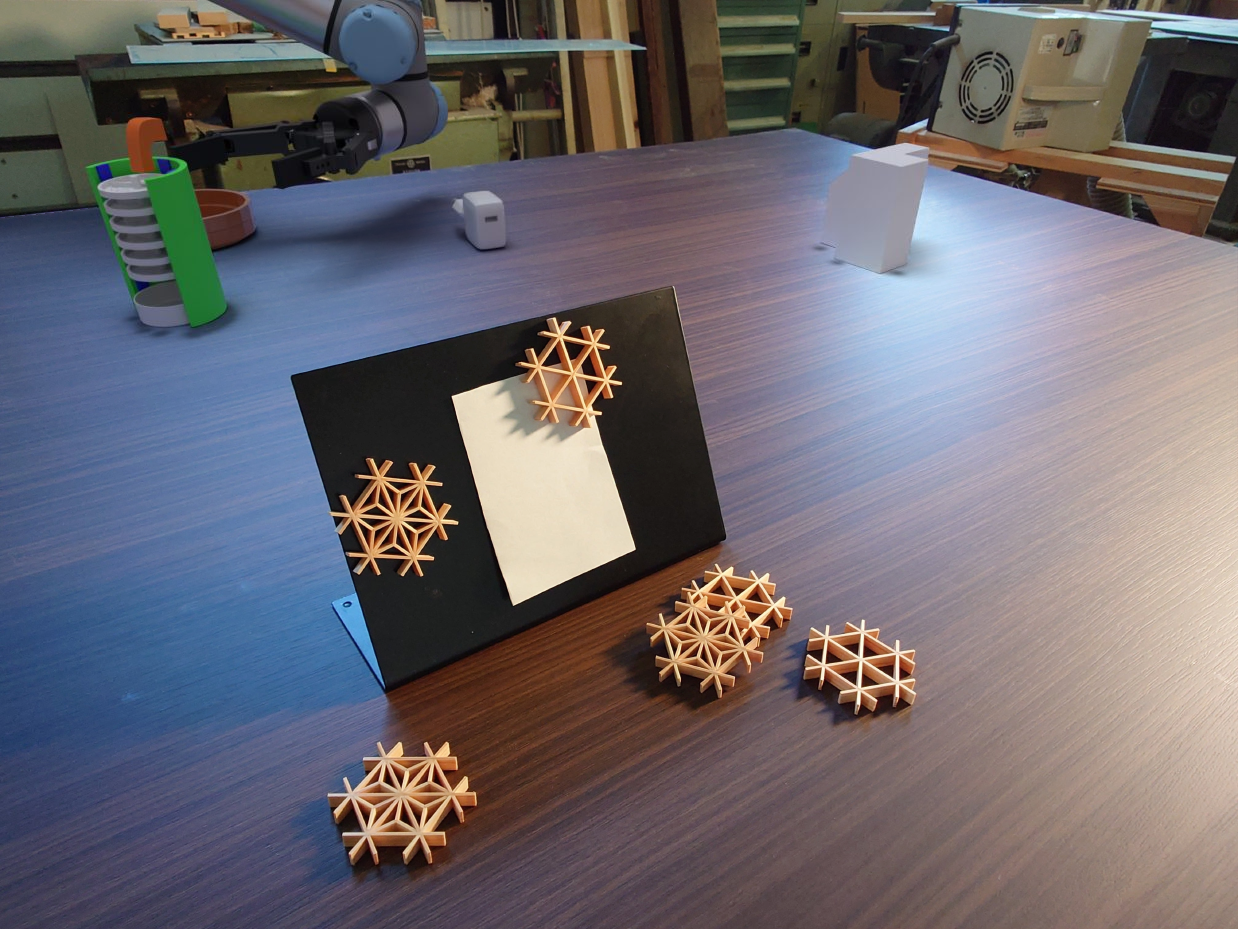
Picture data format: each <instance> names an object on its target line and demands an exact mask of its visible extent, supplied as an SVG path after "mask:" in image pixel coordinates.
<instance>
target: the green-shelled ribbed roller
mask: <svg viewBox="0 0 1238 929" xmlns="http://www.w3.org/2000/svg"><path fill="white" fill-rule="evenodd" d="M125 138H126V147H127V153H128V154H127V155H128V157H126V158H118V159H112V160H107V161H102V162H98V163H95V164H91V165H88V166H85V168H84V169H85V171H86V175H87V177H88V180H89V183H90V185H91V188H92V191H93V194H94V197H95V200H96V203H97V205H98V208H99V211H100V213H101V216H102V219H103V222H104V226H105V228H106V231H107V233H108V237H109V239H110V242H111V244H112V247H113V250H114V253H115V256H116V258H117V261H118V264H119V268H120V270H121V272H122V276H123V279H124V281H125V284H126V287H127V289H128V294H129V296H130V298H131V301H132V304H133V306H134V310H135V311H137V313H138V316H139V319H140V321H141V323H143V324H144V325H147V326H149V327H155V328H159V327H160V328H169V327H171V328H172V327H179V326H185V325H188V324H189V326H190V327H191V328H196V327H198V326H202V325H205V324H207V323H210V322H212V321H214V320H216V319H217V318H219V317H220V316H222V315H223V314H224V313H225V312H226V310H227V308H228V304H227V300H226V296H225V292H224V290H223V287H222V286H223V285H222V282H221V279H220V276H219V272H218V269H217V265H216V261H215V258H214V255H213V251H212V250H211V247H210V244H209V240H208V237H207V233H206V230H205V226H204V223H203V219H202V216H201V212H200V209H199V205H198V202H197V198H196V195H195V191H194V190H195V187H194V184H193V181H192V177H191V175H190V174H191V173H190V172H189V170H188V167H187V163H186V162H185V161H183V160H180V159H176V158H172V157H169V156H153V155H152V149H151V148H152V144H153V143H155V142H158V141H159V142H161V141H168V136H167V134H166V131H165V127H164V122H163V121H162V119H161V118H157V117H156V118H155V117H149V116H147V117H133V118H131V119H130V120H128V122H127V125H126V129H125Z"/></svg>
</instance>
